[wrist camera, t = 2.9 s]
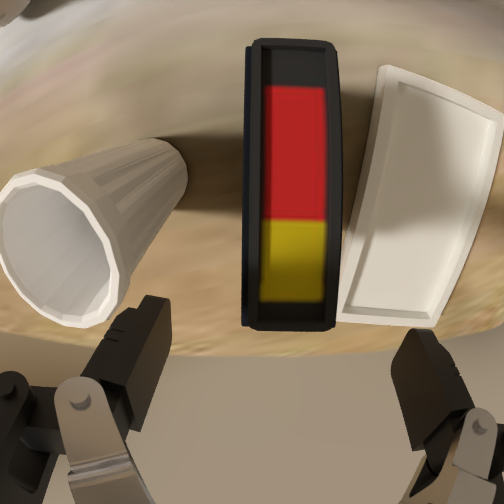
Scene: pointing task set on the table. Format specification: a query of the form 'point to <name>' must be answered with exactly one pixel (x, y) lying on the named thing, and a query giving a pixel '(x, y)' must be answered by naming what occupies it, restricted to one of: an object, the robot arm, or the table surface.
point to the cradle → (416, 200)
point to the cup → (87, 227)
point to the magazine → (291, 186)
